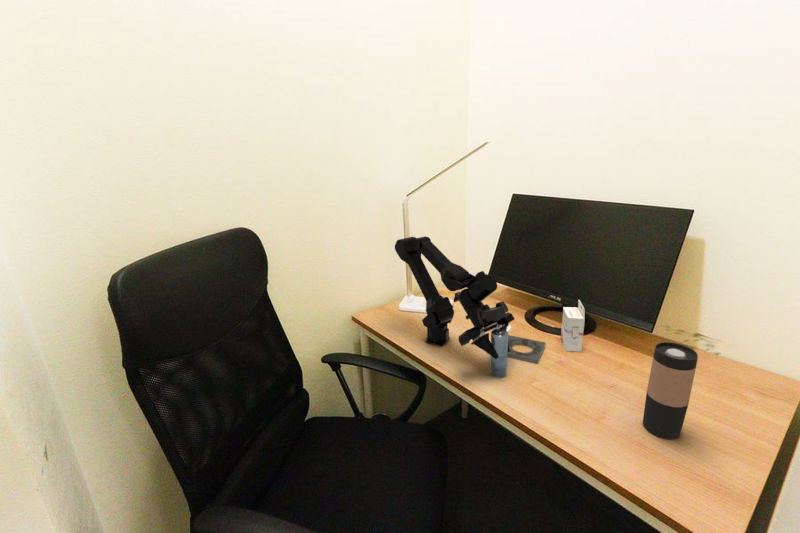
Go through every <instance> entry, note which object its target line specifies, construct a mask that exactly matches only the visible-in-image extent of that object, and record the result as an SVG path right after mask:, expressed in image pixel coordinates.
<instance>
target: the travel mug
mask: <svg viewBox="0 0 800 533" xmlns="http://www.w3.org/2000/svg"><path fill="white" fill-rule="evenodd" d="M652 356H653V358H652V361H651V362H652V363H651V368H650V373H649V378H648V383H647V388H646V395H645V402H644V409H643V417H642V424H643V427H644V429H645V430H646V431H648V432H649V434H651V435H654V436H655V437H658V438H660V439H664V440H677V439H678V438H679V437H680V436H681V433H682V430H683V427H684V422H685V417H686V415H687V411H688V408H689V407H688V406H689V402H690V399H691V393H692V389H693V383H694V378H695V374H696V369H697V364H698V358H699V357H698V356H699V355H698V353H697V352H696V350H694V349H693V348H691V347H688V346H686V345H683V344H681V343H676V342H670V341H667V342H660V343H657V344H656V345H655V346H654V350H653V355H652Z"/></svg>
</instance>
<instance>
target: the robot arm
mask: <svg viewBox="0 0 800 533" xmlns="http://www.w3.org/2000/svg"><path fill="white" fill-rule="evenodd" d="M394 244H395V245H394V251H395V252H396V255H398V257H399V258H400V260H402V261H403V262H404V263H405V264H407V265H408V266H409V268H410V270H411V273H412V275H413V277H414V279H415V281H416V283H417V285H418V287H419V289H420V291H421V293H422V295H423V297H424V299H425V301H426V303H425V304H426V306H425V312H426V315H425V317H424V318H422V320H421V321H422V325H423V327H425V328H426V333H427V334H426V336H427V337H426V340H425V343H427V344H430V345H434V346H439V347H444V345H445V344H447V342H448V341H449V340H450V329H449V328H448V327H449V326H448V324H451V323H452V320H453V318H454V315H455V310H454V306H453V305H452V303H451V301H450V298H449V297H448V296H445V297H444V296H442V295H441V294H440V293H439V290H438V288H437V287H436V284H435V282H434V281H433V278H432V277H431V274H430V272H429V271H428V269H427V267H426V265H425V263H424V261H423V259H422V256H423V257H424V258H425V259H426V260H427V261H428V262H429V264H431V265H432V266H433V268H435V269H436V271H437V272H438V273H439V275H440V280H441V282H442V283H443V285H444V286H445V288H446V289H447V290H449V292H455V293H454V297H453V302H454V303H458V302H459V303H460V305H461V307H462V308H463V310H464V312H465V314H466V316H465V319H466V320H467V321H468V320H470V322H471V324H472V325H473V327H471V328H469V329H466V330H465V331H464V332H463V333H461V334H459V336H458V342H459V344H460V345H461V347H463V346H465V345H467V344H471V346H472V345H474V346H476V347H477V348H479V349H481V351H482V350H483V351H484V353H486V354H488V355H490V357H491V356H492V357H493V358H495V359H497V358H498V355H497V353H496V351H495V349H494V347H493V346H492V344H491V339H490V333H489V331H491V332H492V331H493V330H495V329H503V330H505V331H506V330H507V326H509V325H510V323H512V322H513V321H515V316H514V315H513V313H511V312H510V311H509V307H508V305H507V304H506V302H505V301H499V302H496V303H495V306H493V307H490V306H489V304H487V303H486V304H484V303H483V301H484V300H485V299H488V297H489V296H491V295H492V294H493V293H494V292H495V291H497V289H498V282H497V280H496V279H495V278H493V276H491V275H490V274H487V273H486V272H484V270H481V271H479V272H477V273H476V274H475V275H473V274H471V273H469V271H468V270H466V269H465V268H464V267H462V266H461V265H460V264H457V263H454V262H452V261H451V260H450V259H449V258H448V257H447V256H446V255H445V254H444V253H443V252H442V251H441V250H440V249H439V248H438V246H436V245H435V244H434V243H433V242H432V241H431V238H430V237H429V236H426V235H425V236H421V237H416V236H409V237H405V238H400V239H397V240H396V241H395V243H394ZM458 290H459V291H458ZM460 290H461V291H460ZM457 291H458V292H457ZM508 311H509V312H508ZM489 325H490V326H489ZM487 332H488V333H487ZM471 340H472V342H471V343H470V341H471ZM508 352H510V349H509V345H508V351H507V353H508Z"/></svg>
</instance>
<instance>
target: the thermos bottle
mask: <svg viewBox="0 0 800 533" xmlns="http://www.w3.org/2000/svg"><path fill="white" fill-rule="evenodd" d="M490 333H491V334H490V336H491V337H490V342H491V344H492V346H493V347H494V349H495V351H496V353H497V355H498V358H497V359H495V358H493V357H492V356H491V355H490V359H489V360H490V362H489V364H490V365H489V366H490V367H489V374H490V376H492V377H493V378H496V379H503V378H506V376H507V372H508V371H507V368H508V357H507V351H508V335H509V333H508V332H507V331H505V330H503V329H495V330H493V331H492V330H491V331H490Z"/></svg>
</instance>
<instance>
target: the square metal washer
mask: <svg viewBox="0 0 800 533" xmlns="http://www.w3.org/2000/svg"><path fill="white" fill-rule="evenodd" d="M508 345H509V349H510V352H508V353H507V358H511V359H514V360H518V361H524V362H527V363H532V364H537V365H538V364H539V362H540V359H541V358H542V355H543V353H544V350H545V347H546V342H544V341H540V340H534V339H531V338H530V339H529V338H525V337H520V336H516V335H511V334H508ZM520 345H522V346H526V347H528V348H531V349H532V350H531V351H529V352H521V351H517V350H515V349H513V347H514V346H520Z"/></svg>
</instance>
